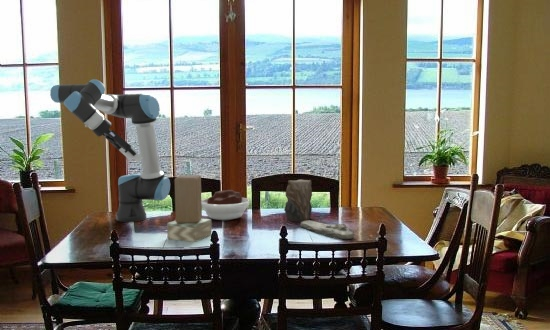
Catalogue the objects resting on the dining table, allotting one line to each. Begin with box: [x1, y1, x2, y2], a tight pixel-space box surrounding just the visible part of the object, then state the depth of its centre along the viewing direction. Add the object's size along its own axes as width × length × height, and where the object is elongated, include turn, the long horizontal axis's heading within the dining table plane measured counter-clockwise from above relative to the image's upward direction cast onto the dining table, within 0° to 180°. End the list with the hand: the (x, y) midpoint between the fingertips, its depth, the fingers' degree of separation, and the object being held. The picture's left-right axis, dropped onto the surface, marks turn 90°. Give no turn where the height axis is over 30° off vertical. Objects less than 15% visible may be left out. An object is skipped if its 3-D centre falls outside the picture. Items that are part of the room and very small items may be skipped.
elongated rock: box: [299, 219, 355, 240], centre depth 248 cm, size 35×5×10 cm
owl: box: [283, 178, 313, 223], centre depth 277 cm, size 13×13×20 cm
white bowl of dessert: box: [201, 189, 250, 221], centre depth 280 cm, size 25×25×15 cm
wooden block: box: [174, 174, 203, 223], centre depth 241 cm, size 10×10×20 cm
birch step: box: [166, 218, 213, 243], centre depth 242 cm, size 14×14×7 cm
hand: (136, 159), depth 230 cm, fingers open, 13 cm apart
